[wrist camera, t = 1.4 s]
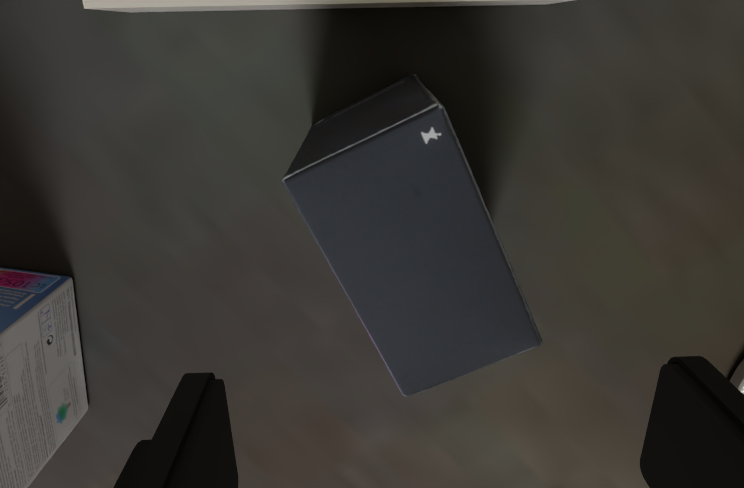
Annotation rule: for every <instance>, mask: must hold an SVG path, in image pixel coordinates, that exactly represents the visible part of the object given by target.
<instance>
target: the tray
mask: <svg viewBox="0 0 744 488" xmlns="http://www.w3.org/2000/svg"><path fill="white" fill-rule="evenodd" d="M566 1H573V0H83V5H84V9H96V10H108V11H120V12H173V11H226V10H279V9H331V8H384V7H437V6H489V5H542V4H553V3H560V2H566Z"/></svg>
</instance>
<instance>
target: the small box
mask: <svg viewBox="0 0 744 488" xmlns="http://www.w3.org/2000/svg"><path fill="white" fill-rule="evenodd" d="M282 182H283V184H284V186H285V188H286V190H287V192H288V193H289V195H290V197H291V198H292V200H293V202H294V204H295V206H296V208H297V209H298V211H299V213H300V214H301V216H302V218H303V219H304V221H305V223H306V225H307V226H308V228H309V230H310V232H311V233H312V235H313V237H314V239H315V240H316V242H317V244H318V246H319V247H320V249H321V251H322V253H323V254H324V256H325V258H326V260H327V261H328V263H329V265H330V267H331V269H332V270H333V272H334V274H335V276H336V277H337V279H338V281H339V283H340V284H341V286H342V288H343V290H344V291H345V293H346V295H347V297H348V298H349V300H350V302H351V304H352V306H353V307H354V309H355V311H356V313H357V314H358V316H359V318H360V320H361V321H362V323H363V325H364V327H365V329H366V330H367V332H368V334H369V336H370V337H371V339H372V341H373V343H374V345H375V346H376V348H377V350H378V352H379V353H380V355H381V357H382V359H383V361H384V362H385V364H386V366H387V368H388V370H389V372H390V373H391V375H392V377H393V379H394V381H395V382H396V384H397V386H398V388H399V390H400V391H401V393H402V395H404V396H409V395H412V394H415V393H418V392H421V391H424V390H427V389H429V388H432V387H434V386H437V385H440V384H443V383H445V382H447V381H450V380H453V379H455V378H458V377H460V376H463V375H466V374H468V373H471V372H473V371H476V370H478V369H481V368H483V367H486V366H489V365H491V364H493V363H496V362H499V361H501V360H504V359H506V358H509V357H512V356H514V355H516V354H519V353H521V352H524V351H527V350H529V349H532V348H534V347H537V346H540V345H541V344H542V339H541V337H540V334H539V332H538V329H537V327H536V324H535V322H534V320H533V317H532V315H531V312H530V310H529V307H528V305H527V302H526V300H525V298H524V295H523V293H522V291H521V288H520V286H519V284H518V281H517V279H516V276H515V274H514V271H513V269H512V266H511V264H510V262H509V260H508V257H507V255H506V252H505V250H504V247H503V244H502V242H501V240H500V238H499V235H498V233H497V231H496V228H495V225H494V223H493V221H492V218H491V216H490V214H489V212H488V209H487V207H486V205H485V203H484V200H483V198H482V195H481V193H480V190H479V187H478V185H477V183H476V181H475V178H474V176H473V173H472V170H471V168H470V166H469V164H468V161H467V159H466V156H465V154H464V152H463V150H462V147H461V145H460V142H459V140H458V138H457V136H456V133H455V131H454V128H453V126H452V123H451V121H450V119H449V116H448V114H447V111H446V109H445V107H444V106H443V105H442V104H441V102H440V101H439V100H438V99H437V98H436V97H435V96H434V95H433V94H432V93H431V92H430V91H429V89H427V88H426V87H425V86H424V84H423V83H422V82H421V80H420V79H419V77H418V76H417V75H415V74H412V73H409V74H408V75H407V76H403V77H402V78H400V79H399V80H398V81H397V82H395V83H394V84H392V85H387V86H386V87H385V88H383V89H380V90H378V91H377V92H375V93H374V94H370V95H369V96H368V97H365V98H363V99H361V100H359V101H355V102H354V103H353V104H351V105H349V106H347V107H345V108H339V109H338V110H336V111H334V112H332V113H331V114H329V115H327V116H326V117H324V118H323V119H322V120H320V121H318V122H315V123H314V124H313V125H312V126H311V129H310V130H309V133H308V134H307V136H306V138H305V140H304V142H303V144H302V146H301V147H300V149H299V151H298V153H297V155H296V156H295V158H294V160H293V162H292V163H291V166H290V168H289V170H288V171H287V173H286V174H285V175H284V177H283V179H282Z"/></svg>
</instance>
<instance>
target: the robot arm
mask: <svg viewBox="0 0 744 488" xmlns="http://www.w3.org/2000/svg"><path fill="white" fill-rule="evenodd" d="M640 468H641V472H642V475H643V477H644V479H645V481H646V482H647V484H648V485H649V487H650V488H744V359H743V361H742V362H741V363H740V364H739V366H738V367H737V369H736V370H735V372H734V374H733V376H732V377H731V379H730V381H729V380H728V379H727V378H726V377H725V376H723V375H722V374H721V373H720V372H719V371H718V370H717V369H716V368H715V367H714V366H713V365H712V364H711V363H710V362H709V361H708V360H706V359H705V358H704V357H701V356H687V357H673V358H671V359H670V360H669V361H668V364H665V365H663V366H662V367H661V370H660V374H659V378H658V383H657V387H656V392H655V396H654V400H653V405H652V409H651V414H650V418H649V423H648V427H647V431H646V436H645V440H644V445H643V449H642V454H641V458H640ZM114 488H238V472H237V466H236V459H235V452H234V446H233V439H232V432H231V426H230V419H229V412H228V406H227V399H226V392H225V385H224V382H223V380H222V379H215V376H214V374H213V373H186V374H184V376H183V377H182V379H181V381H180V383H179V385H178V387H177V389H176V391H175V393H174V395H173V397H172V399H171V401H170V403H169V405H168V407H167V410H166V412H165V414H164V416H163V418H162V420H161V422H160V424H159V426H158V428H157V430H156V432H155V434H154V436H153V438H152V440H141V441H140V442H138V443H137V445H136V446H135V448H134V449H133V451H132V453H131V455H130V457H129V459H128V461H127V463H126V465H125V466H124V468H123V470H122V472H121V474H120V476H119V478H118V480H117V482H116V484H115V486H114Z"/></svg>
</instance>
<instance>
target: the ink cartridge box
mask: <svg viewBox="0 0 744 488" xmlns="http://www.w3.org/2000/svg"><path fill="white" fill-rule="evenodd" d="M87 410H88V402H87V393H86V385H85V377H84V369H83V361H82V352H81V345H80V336H79V328H78V320H77V312H76V304H75V297H74V288H73V280H72V278H71V277H69V276H61V275H53V274H46V273H40V272H31V271H23V270H17V269H9V268H2V267H0V488H27V487H28V486H29V485H30V484H31V482H32V481H33V480H34V478H35V477H36V476H37V475H38V473H39V472H40V471H41V469H42V468H43V467H44V466H45V464H46V463H47V462H48V461H49V459H50V458H51V457H52V455H53V454H54V453H55V451H56V450H57V449H58V448H59V446H60V445H61V444H62V443H63V441H64V440H65V439H66V437H67V436H68V435H69V434H70V432H71V431H72V430H73V428H74V427H75V426H76V425H77V423H78V422H79V421H80V419H81V418H82V417H83V415H84V414H85V413H86V412H87Z"/></svg>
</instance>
